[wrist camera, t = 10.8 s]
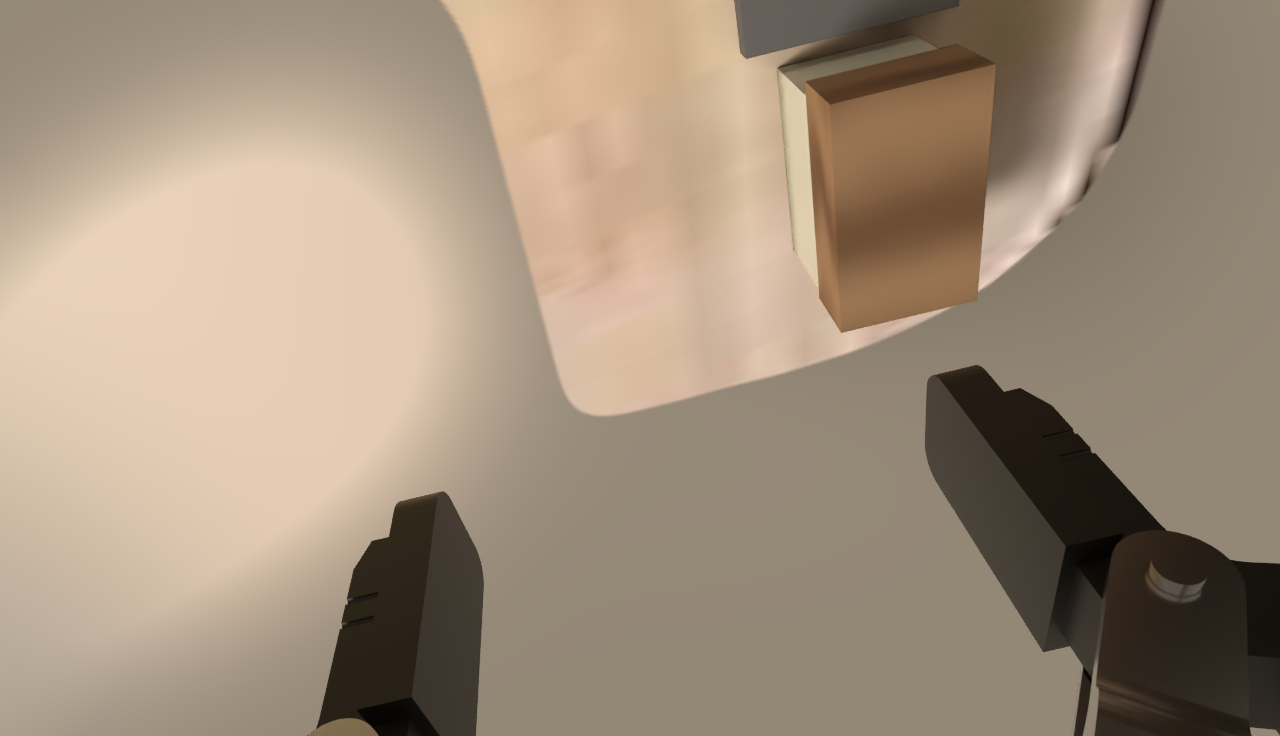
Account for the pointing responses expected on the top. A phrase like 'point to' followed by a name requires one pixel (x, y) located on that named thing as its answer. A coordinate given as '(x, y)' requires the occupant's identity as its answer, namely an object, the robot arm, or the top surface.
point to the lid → (900, 184)
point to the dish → (797, 129)
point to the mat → (818, 20)
